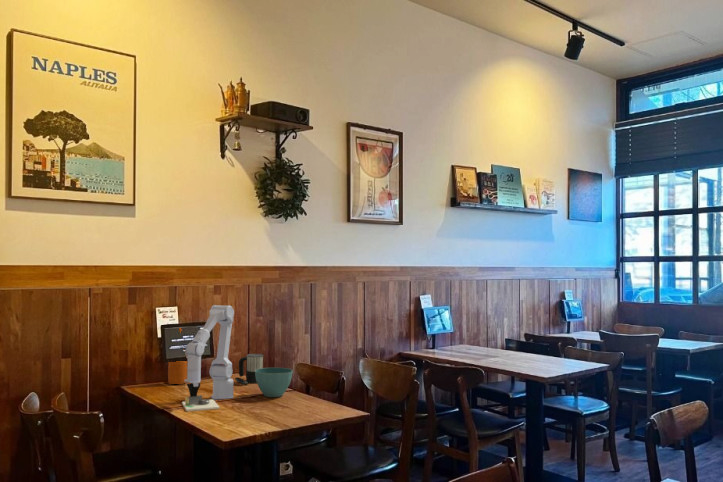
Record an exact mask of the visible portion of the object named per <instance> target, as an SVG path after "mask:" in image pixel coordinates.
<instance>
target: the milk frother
mask: <svg viewBox="0 0 723 482" xmlns="http://www.w3.org/2000/svg"><path fill="white" fill-rule="evenodd" d="M263 360H264V354H262V353H249V354H246V356H243V357H241V358H239V360H238V375H239V377H235V378H234V380H235V381H236V382H237V383H239V384H241V385H242V386H244V385H248V384H257V381H256V376H255V370H257V369H262V368H264V367H263V366H264V363H263V362H264V361H263ZM244 362H245V363H246V367H244V364H245V363H244ZM245 368H246V369H245ZM244 370H245V371H244ZM244 375H245V379H243V378H241V377H244Z"/></svg>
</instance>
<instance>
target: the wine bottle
mask: <svg viewBox="0 0 723 482" xmlns="http://www.w3.org/2000/svg"><path fill="white" fill-rule="evenodd" d="M178 328H179V331H180V333H181V331H182V332H183V329H181V328H182V327H178ZM167 366H168V368H167V369H168V371H167V373H168V374H167V377H168V379H167V380H168V381H167V382H168V384H169V385H171V384H181V385H184V384H183V383H185V384H186V383H187V382H185V379H187V373H188V360H187V361H176V362H169V361H168V365H167Z"/></svg>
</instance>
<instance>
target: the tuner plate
mask: <svg viewBox="0 0 723 482" xmlns="http://www.w3.org/2000/svg"><path fill="white" fill-rule="evenodd" d="M208 400H209V403H208V404H192V405H185V400H184V401H182V402H181V404H182V406H183V408H184V409H185V411H186V412H195V411H208V410H220V405H218V403H217V402H216V401H215V400H213V398H211V399H208Z"/></svg>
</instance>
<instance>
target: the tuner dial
mask: <svg viewBox="0 0 723 482" xmlns="http://www.w3.org/2000/svg"><path fill="white" fill-rule="evenodd" d="M209 400H210V399H204V398H203V395H201V394H200V395H197V396H190V395H189V396H185V400H184V401H185V405H192V404H208V403H209Z"/></svg>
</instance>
